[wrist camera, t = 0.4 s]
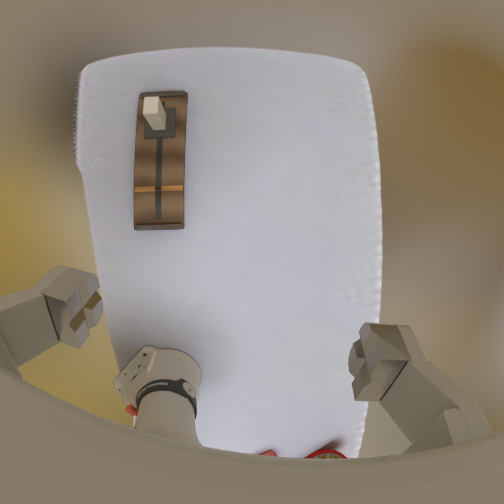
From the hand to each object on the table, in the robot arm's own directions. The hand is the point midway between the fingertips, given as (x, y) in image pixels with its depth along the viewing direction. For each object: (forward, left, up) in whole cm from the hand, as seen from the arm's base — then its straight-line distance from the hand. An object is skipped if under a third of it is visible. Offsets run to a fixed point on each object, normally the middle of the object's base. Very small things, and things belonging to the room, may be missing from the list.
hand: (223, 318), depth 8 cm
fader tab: (+4, +21, -50) cm, 54 cm away
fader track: (-1, +15, -52) cm, 54 cm away
